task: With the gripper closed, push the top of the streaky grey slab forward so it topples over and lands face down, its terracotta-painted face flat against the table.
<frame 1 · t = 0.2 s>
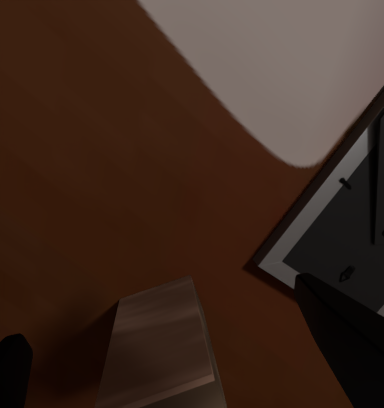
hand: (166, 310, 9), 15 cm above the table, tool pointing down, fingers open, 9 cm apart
picture frame: (371, 213, 27), on the table
streaky grey slab: (162, 304, 26), on the table
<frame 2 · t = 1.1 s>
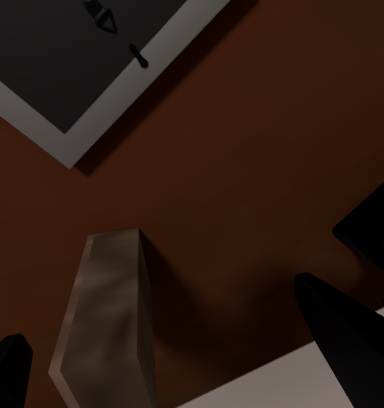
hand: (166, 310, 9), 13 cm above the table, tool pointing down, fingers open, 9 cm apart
streaky grey slab: (122, 264, 24), on the table
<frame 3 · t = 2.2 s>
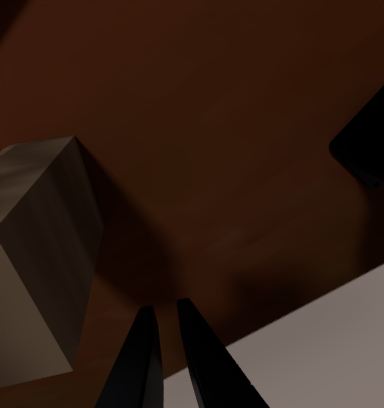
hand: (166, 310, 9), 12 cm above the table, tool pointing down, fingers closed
streaky grey slab: (61, 189, 19), on the table
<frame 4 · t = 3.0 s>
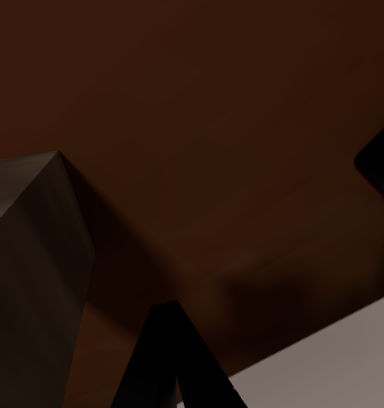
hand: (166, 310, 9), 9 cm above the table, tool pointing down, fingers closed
streaky grey slab: (44, 212, 16), on the table
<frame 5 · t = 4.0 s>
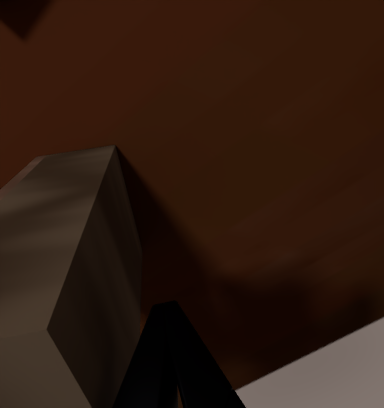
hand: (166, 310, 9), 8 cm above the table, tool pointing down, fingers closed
streaky grey slab: (95, 209, 16), on the table, touching gripper
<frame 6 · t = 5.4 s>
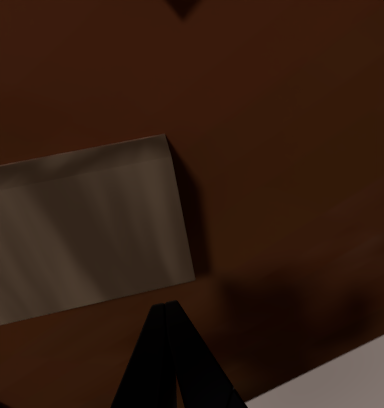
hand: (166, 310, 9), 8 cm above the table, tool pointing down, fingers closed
streaky grey slab: (179, 206, 15), point 2 cm above the table, tilted 90°
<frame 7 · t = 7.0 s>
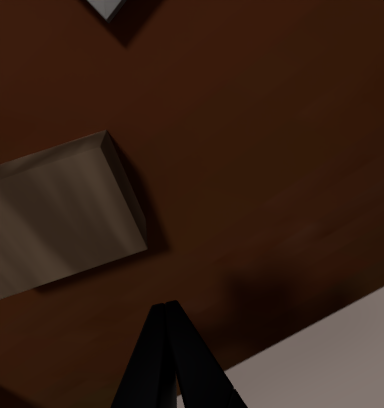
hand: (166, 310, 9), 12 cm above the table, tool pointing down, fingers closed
streaky grey slab: (127, 188, 17), point 2 cm above the table, tilted 90°
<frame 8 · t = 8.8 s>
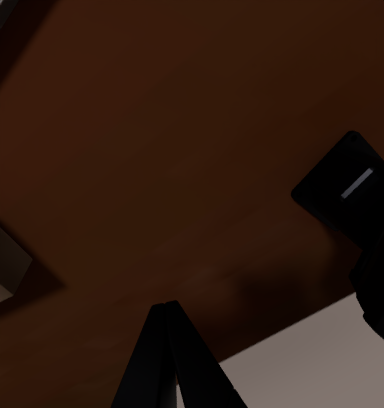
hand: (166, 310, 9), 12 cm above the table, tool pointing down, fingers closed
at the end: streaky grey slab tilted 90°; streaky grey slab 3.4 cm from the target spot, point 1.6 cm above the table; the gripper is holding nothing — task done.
